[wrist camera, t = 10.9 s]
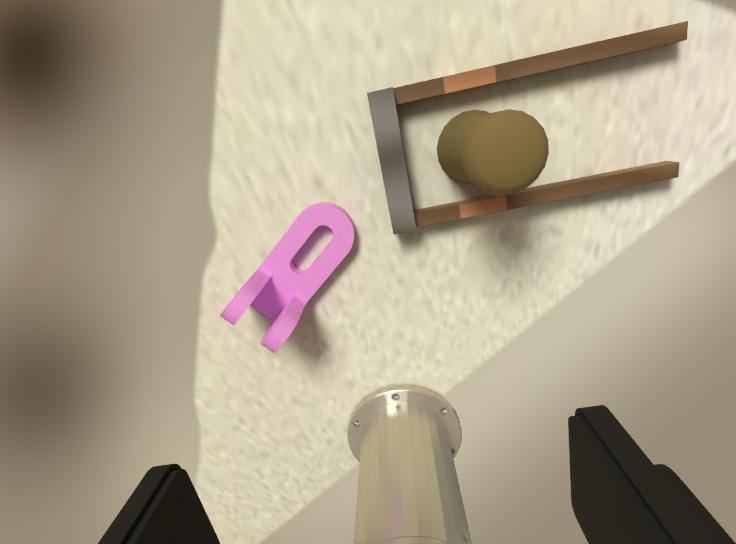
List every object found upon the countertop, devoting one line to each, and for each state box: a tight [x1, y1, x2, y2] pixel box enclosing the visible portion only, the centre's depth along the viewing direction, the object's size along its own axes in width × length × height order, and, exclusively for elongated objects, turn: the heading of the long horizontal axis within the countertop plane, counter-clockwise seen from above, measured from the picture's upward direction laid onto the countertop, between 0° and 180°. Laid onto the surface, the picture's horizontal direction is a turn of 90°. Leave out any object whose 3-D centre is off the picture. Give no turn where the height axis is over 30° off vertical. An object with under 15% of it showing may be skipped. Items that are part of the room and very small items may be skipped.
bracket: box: [220, 202, 355, 353], centre depth 34 cm, size 13×6×7 cm, turn 141°
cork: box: [437, 110, 548, 196], centre depth 28 cm, size 6×6×11 cm
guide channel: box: [367, 21, 688, 234], centre depth 32 cm, size 11×24×2 cm, turn 102°
